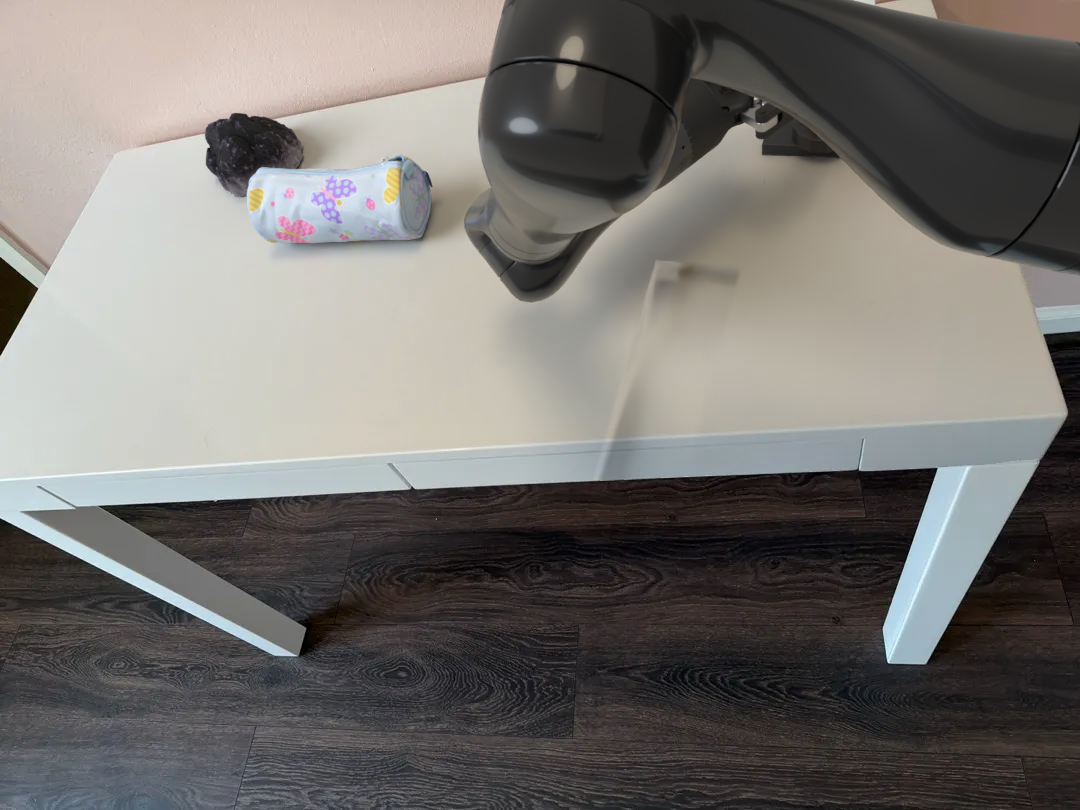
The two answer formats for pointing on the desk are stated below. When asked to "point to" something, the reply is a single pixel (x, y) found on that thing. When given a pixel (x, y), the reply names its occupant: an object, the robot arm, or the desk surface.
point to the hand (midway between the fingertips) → (785, 42)
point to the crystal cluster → (249, 149)
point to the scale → (796, 142)
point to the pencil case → (341, 203)
